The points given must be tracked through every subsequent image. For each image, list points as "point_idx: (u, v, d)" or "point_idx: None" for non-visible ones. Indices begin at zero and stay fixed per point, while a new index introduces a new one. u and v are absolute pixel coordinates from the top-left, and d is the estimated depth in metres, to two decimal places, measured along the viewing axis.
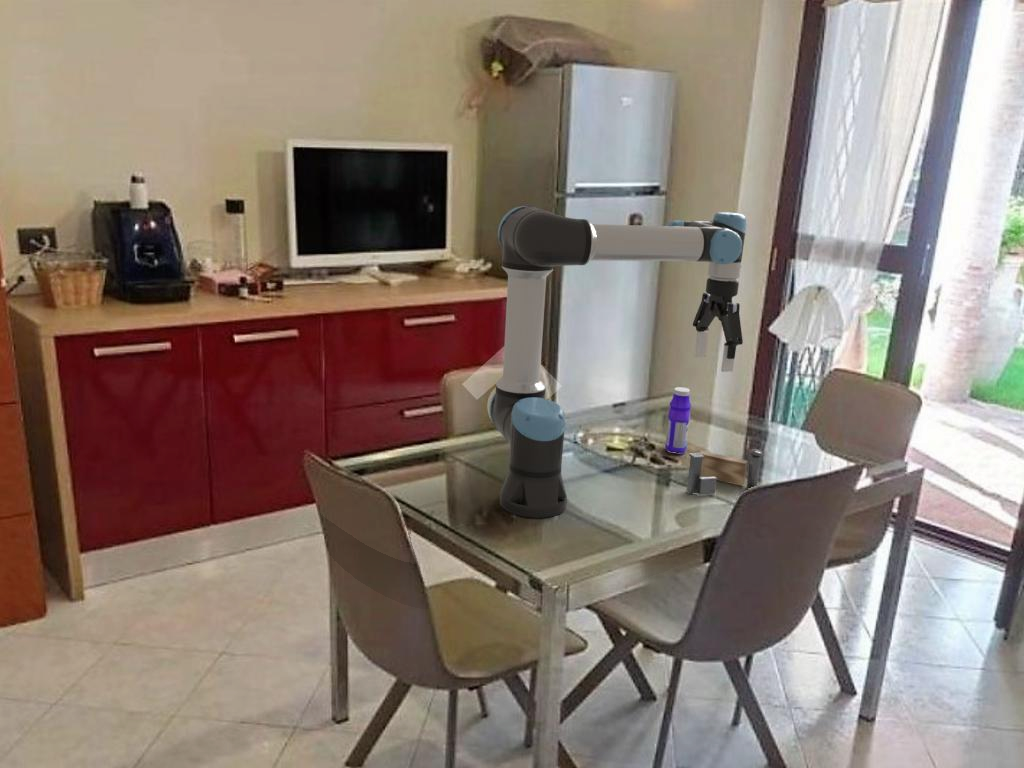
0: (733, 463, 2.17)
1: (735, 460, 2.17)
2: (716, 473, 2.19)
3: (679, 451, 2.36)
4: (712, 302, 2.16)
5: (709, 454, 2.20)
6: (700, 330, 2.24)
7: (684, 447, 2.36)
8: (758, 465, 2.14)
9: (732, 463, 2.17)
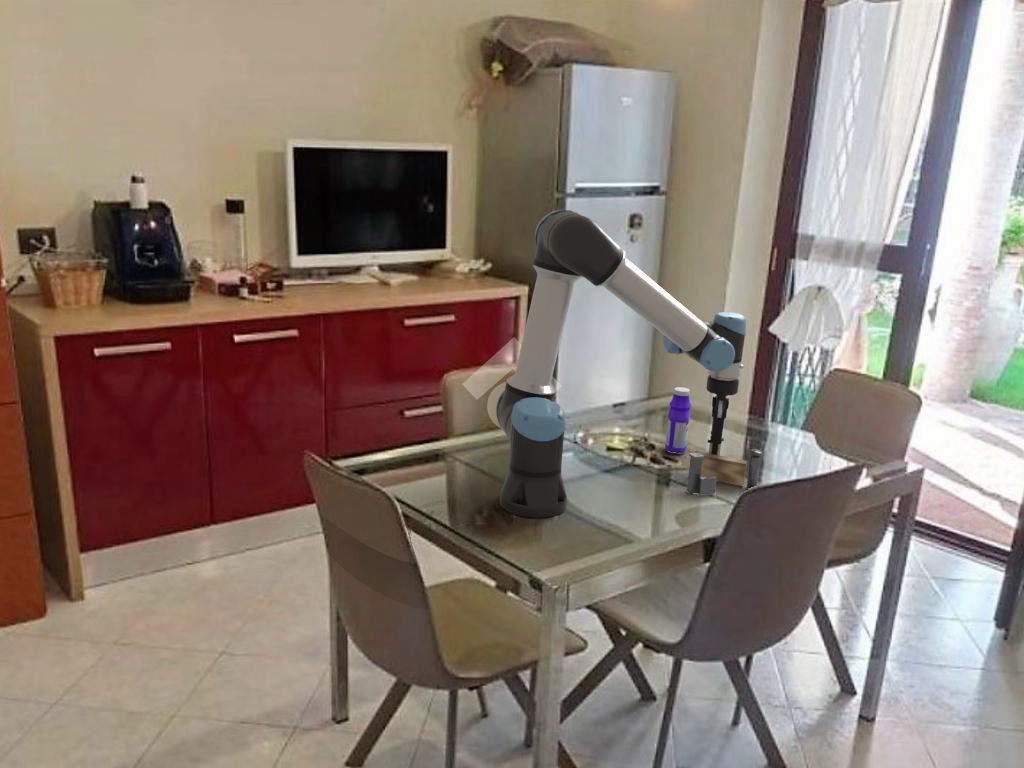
0: (733, 463, 2.16)
1: (735, 460, 2.17)
2: (716, 474, 2.19)
3: (679, 451, 2.36)
4: (714, 397, 2.20)
5: (708, 455, 2.20)
6: None
7: (684, 447, 2.36)
8: (758, 465, 2.14)
9: (732, 463, 2.16)
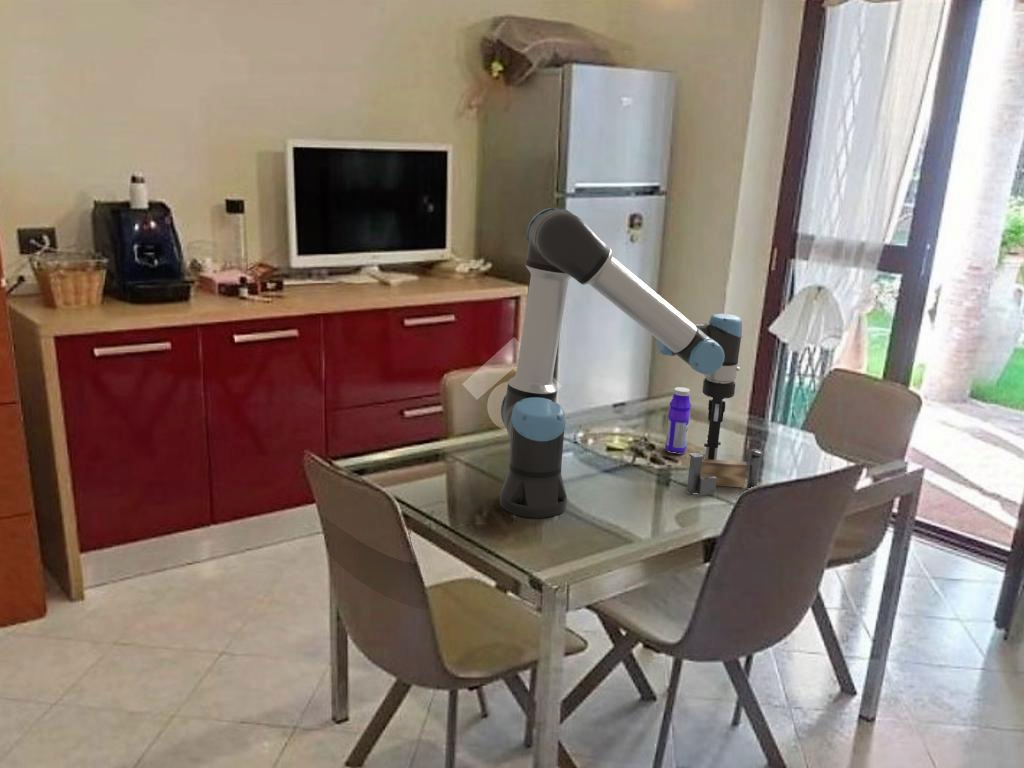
0: (735, 466, 2.15)
1: (735, 463, 2.15)
2: (717, 479, 2.16)
3: (679, 451, 2.36)
4: (710, 400, 2.16)
5: (708, 461, 2.16)
6: None
7: (684, 447, 2.36)
8: (758, 465, 2.14)
9: (734, 466, 2.15)
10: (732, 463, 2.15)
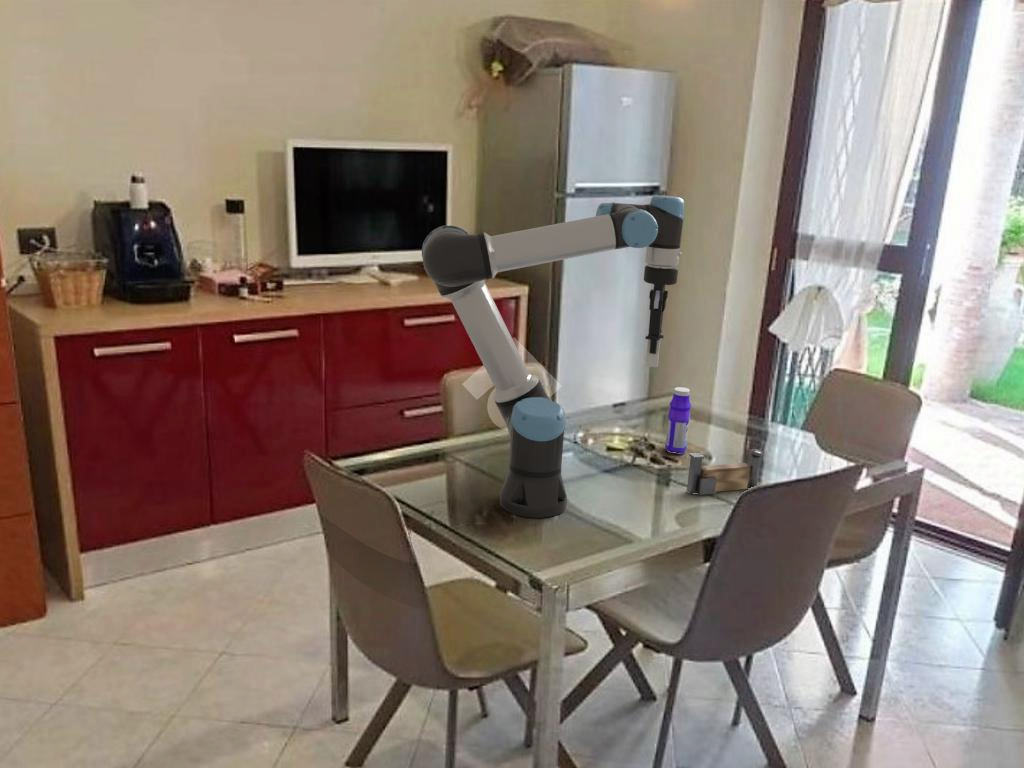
0: (739, 469, 2.13)
1: (739, 466, 2.13)
2: (723, 484, 2.13)
3: (679, 451, 2.36)
4: (652, 289, 2.05)
5: (714, 467, 2.12)
6: None
7: (684, 447, 2.36)
8: (758, 465, 2.14)
9: (738, 469, 2.13)
10: (736, 466, 2.13)
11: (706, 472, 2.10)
